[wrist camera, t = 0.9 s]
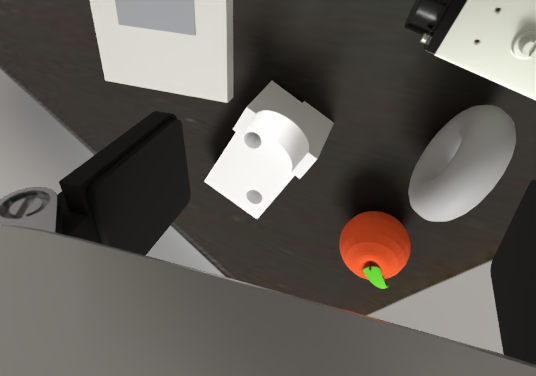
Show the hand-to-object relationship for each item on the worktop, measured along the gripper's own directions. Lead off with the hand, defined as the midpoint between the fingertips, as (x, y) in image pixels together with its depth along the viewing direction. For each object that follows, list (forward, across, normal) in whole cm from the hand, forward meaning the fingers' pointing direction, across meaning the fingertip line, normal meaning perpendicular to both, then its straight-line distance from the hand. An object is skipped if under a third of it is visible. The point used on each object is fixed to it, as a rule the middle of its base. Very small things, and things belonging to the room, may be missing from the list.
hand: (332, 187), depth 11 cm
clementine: (+26, -2, +22) cm, 34 cm away
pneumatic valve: (+26, -7, -1) cm, 27 cm away
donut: (+26, -7, +10) cm, 29 cm away
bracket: (+26, +10, +14) cm, 31 cm away
